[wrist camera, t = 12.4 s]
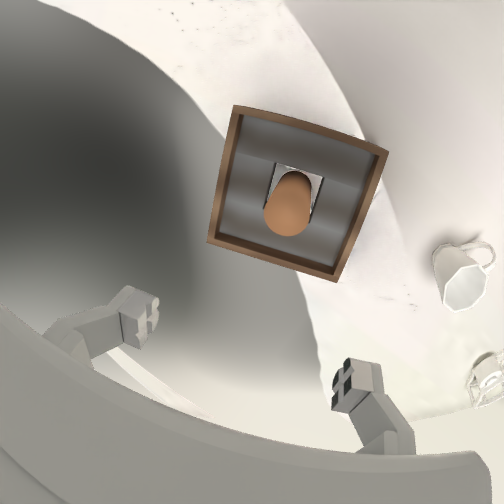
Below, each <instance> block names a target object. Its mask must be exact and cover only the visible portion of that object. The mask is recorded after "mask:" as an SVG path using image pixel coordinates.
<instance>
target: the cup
mask: <svg viewBox="0 0 504 504" xmlns="http://www.w3.org/2000/svg"><path fill="white" fill-rule="evenodd" d="M472 248H487V249H489V250H490V251H491V253H492V254H493V260H492V261H491V263H489V264H487V265H485V266H482V267H481V265H480V264H479V263H477V262H476V261H475V260H474V259H472V258H471V257H469V256H468V255H467V254H466V253H464V252H463V250H466V249H472ZM495 264H496V254H495V252H494V249H493V248H492V246H491V245H490V244H488V243H486V242H473V243H467V244H463V245H460V246H458V247H454V246H452V245H451V244H450V243H448V244H442V245H439V247H438V248H437V249H436V250H435V251H434V253H433V254H432V266H433V267H434V272H435V278H436V282H437V285H438V288H439V292H440V295H441V299H442V303H443V304H444V305H445V306H446V307H447V308H449V309H450V310H451V311H452V312H453V313H456V312H460V311H464V310H468V309H471V308H472V307H473V306H474V305H475V304H476V303H477V302H478V301H479V300H480V299H481V298H482V297H483V295H484V294H485V292H486V287H487V282H488V276H489V275H488V274H487V273H488V272H489V271H490V270H491V269H493V267H494V266H495Z"/></svg>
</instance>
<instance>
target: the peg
mask: <svg viewBox="0 0 504 504" xmlns="http://www.w3.org/2000/svg"><path fill="white" fill-rule="evenodd" d="M311 189H312V186H311V182H310V179H309V178H308V177H307V176H306V175H305V174H304V173H302V172H300V171H289V172H287V173H285V174H284V175H283V176H282V177H281V178H280V180H279V182H278V184H277V185H276V187H275V189H274V191H273V192H272V194H271V196H270V198H269V200H268V201H267V203H266V205H265V208H264V219H265V222H266V224H267V225H268V227H269V228H270V229H271V230H272V231H273V232H275V233H277V234H279V235H282V236H293V235H297V234H299V233H300V232H302V231H303V230H304V229H305V228H306V226H307V225H308V222H309V218H310V205H311Z"/></svg>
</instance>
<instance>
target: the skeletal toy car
mask: <svg viewBox="0 0 504 504" xmlns="http://www.w3.org/2000/svg"><path fill="white" fill-rule="evenodd" d="M501 355H504V349H502V350H500V351H499V352H497V353H495V354H493V355H491V356H490V357H488V358H486V359H484V360H483V361H482V362H480V363H479V364H478V365H477V366H475V367H474V368H473V369H472V370H471V375H470V377H469V379H468V380H467V382H466V386H467V389H468V392H469V395H470V399H471V402H472V406H473V408H474V409H477V408H480V407H482V406H487V405H489V404H491V403H493V402H495V401H497V400H499V399H501V398H502V397H504V391H503V392H502V393H500V394H498V395H496V396H494V397H493V398H491V399H489V400H486V397H485V393H487V392H488V391H490V390H492V389H493V388H494V387H496V386H497V385H499V384H500V383H501V384H502V386H503V389H504V366H503V365H504V360H502V361H501V362H499V363H498V361H497V359H496V358H497V357H499V356H501ZM502 374H503V376H502ZM474 376H476V379H477V380H475V381H472V380H473V378H474ZM474 385H478V387H479V390H480V392H479V395H478V397H477V399H476V401H475V400H474V397H473V393H472V390H471V386H474ZM481 399H483V401H482V402H480V401H481Z"/></svg>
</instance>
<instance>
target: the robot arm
mask: <svg viewBox="0 0 504 504" xmlns="http://www.w3.org/2000/svg"><path fill="white" fill-rule="evenodd" d="M158 305H159V299H158V298H157V297H155V296H152V295H150V294H148V293H145V292H143V291H141V290H138V289H136V288H133V287H131V286H129V285H127V286H125V287H124V288H123V289H122V290H121V291H120V292H119V293H118V294H117V295H116V296H115V297H114V298H113V300H112V301H111V302H110V303H109V304H108V305H107V306H104V305H102V306H99V307H96V308H92V309H89V310H86V311H83V312H79V313H76V314H72V315H69V316H66V317H63V318H59V319H58V320H57V321H56V322H55V323H54V324H53V325H52V326H51V327H50V328H49V329H48V330H47V331H46V332H45V333H44V334H43V335H42V336H41V335H40V334H39V333H37V332H36V331H34V330H33V329H32V328H31V327H29V326H28V325H27V324H26V323H24V322H23V321H22V320H21V319H19V318H18V317H17V316H16V315H15V314H13V313H12V312H11V311H10V310H9V309H7V308H6V307H5V306H4V305H3V304H2V303H1V302H0V504H492V490H491V489H492V487H491V476H490V472H489V469H488V467H487V466H486V464H485V463H484V461H483V460H482V459H481V457H480V456H479V455H478V454H477V453H476V452H475V451H462V452H453V453H442V454H427V455H416V446H415V436H414V431H413V429H412V428H411V427H410V425H409V424H408V422H407V421H406V420H405V418H404V417H403V415H402V414H401V413H400V411H399V410H398V409H397V407H396V406H395V404H394V403H393V402H392V400H391V399H390V398H389V396H388V395H386V394H384V385H383V377H382V370H381V365H380V364H377V363H372V362H367V361H362V360H358V359H353V358H347V359H346V360H345V361H344V363H343V368H340V369H339V370H338V371H337V373H336V374H335V377H334V379H333V384H332V390H333V391H334V393H335V394H334V396H333V397H332V406H331V410H332V411H337V412H342V413H348V414H349V417H350V419H351V421H352V423H353V425H354V427H355V429H356V431H357V433H358V435H359V437H360V439H361V441H362V443H363V446H364V447H363V448H361V449H360V450H359V451H357V452H356V453H348V452H339V451H330V450H323V449H316V448H310V447H304V446H299V445H294V444H289V443H284V442H279V441H274V440H270V439H266V438H262V437H258V436H254V435H250V434H246V433H242V432H239V431H236V430H233V429H229V428H226V427H223V426H220V425H216V424H213V423H210V422H207V421H204V420H202V419H199V418H196V417H193V416H191V415H188V414H185V413H183V412H180V411H178V410H175V409H173V408H170V407H168V406H166V405H163V404H161V403H158V402H156V401H154V400H152V399H149V398H147V397H145V396H143V395H141V394H139V393H137V392H135V391H132V390H131V389H128V388H127V387H125V386H122V385H120V384H119V383H117V382H115V381H113V380H111V379H109V378H108V377H106V376H104V375H102V374H100V373H99V372H97V371H95V370H94V367H93V365H92V362H91V359H92V358H94V357H96V356H99V355H101V354H103V353H105V352H107V351H109V350H111V349H113V348H115V347H117V346H119V345H121V344H123V342H124V343H126V344H128V345H131V346H133V347H135V348H138V349H141V348H142V347H143V345H144V344H145V342H146V341H147V334H149V333H152V332H153V330H154V329H155V327H156V325H157V323H158V319H159V312H158V310H157V309H156V308H157V307H158Z"/></svg>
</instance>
